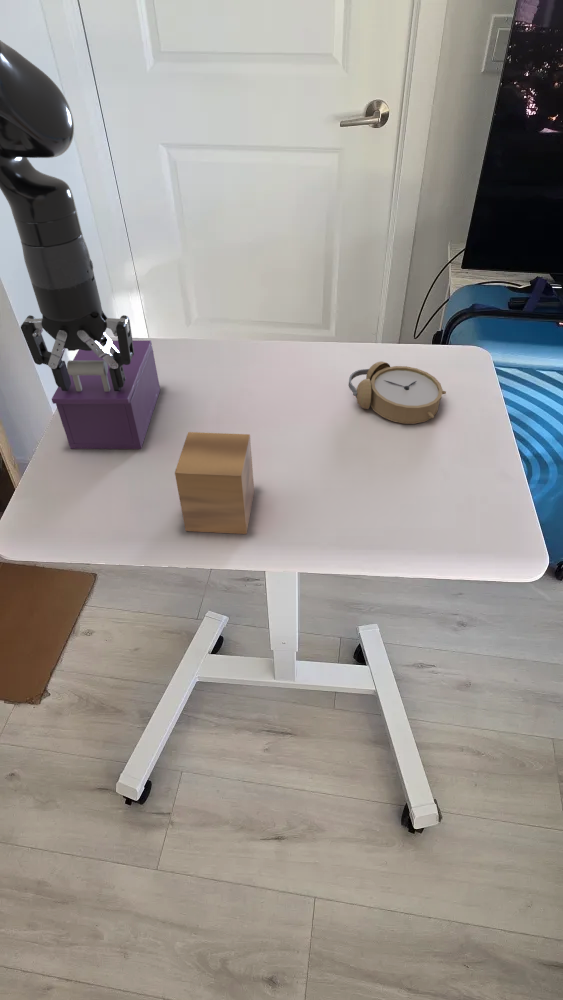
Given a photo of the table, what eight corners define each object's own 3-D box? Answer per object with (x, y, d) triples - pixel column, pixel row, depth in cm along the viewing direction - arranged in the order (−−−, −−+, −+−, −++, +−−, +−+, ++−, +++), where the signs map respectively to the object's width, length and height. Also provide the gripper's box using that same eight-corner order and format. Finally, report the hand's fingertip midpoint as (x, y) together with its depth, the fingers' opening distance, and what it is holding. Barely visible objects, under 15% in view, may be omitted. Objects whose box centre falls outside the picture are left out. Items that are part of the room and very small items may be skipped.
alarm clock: (433, 417, 92) (341, 380, 95) (423, 441, 96) (334, 405, 99) (452, 378, 100) (366, 345, 103) (442, 402, 103) (359, 370, 106)
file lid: (129, 404, 87) (121, 370, 83) (52, 403, 87) (41, 370, 84) (152, 344, 99) (146, 312, 95) (84, 344, 99) (76, 313, 96)
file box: (141, 449, 93) (130, 402, 88) (70, 448, 94) (54, 402, 88) (160, 390, 105) (152, 345, 99) (96, 389, 105) (85, 345, 100)
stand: (246, 534, 80) (241, 475, 73) (185, 531, 81) (174, 472, 74) (254, 492, 86) (250, 434, 79) (197, 489, 87) (187, 431, 80)
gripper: (-8, 286, 74) (34, 403, 85) (112, 286, 73) (137, 403, 85) (14, 260, 80) (51, 373, 91) (126, 260, 79) (148, 373, 90)
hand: (92, 387), depth 88 cm, fingers open, 7 cm apart
